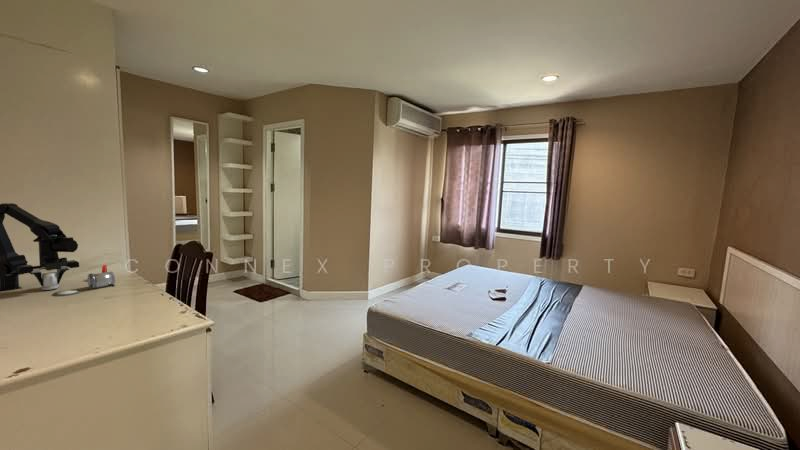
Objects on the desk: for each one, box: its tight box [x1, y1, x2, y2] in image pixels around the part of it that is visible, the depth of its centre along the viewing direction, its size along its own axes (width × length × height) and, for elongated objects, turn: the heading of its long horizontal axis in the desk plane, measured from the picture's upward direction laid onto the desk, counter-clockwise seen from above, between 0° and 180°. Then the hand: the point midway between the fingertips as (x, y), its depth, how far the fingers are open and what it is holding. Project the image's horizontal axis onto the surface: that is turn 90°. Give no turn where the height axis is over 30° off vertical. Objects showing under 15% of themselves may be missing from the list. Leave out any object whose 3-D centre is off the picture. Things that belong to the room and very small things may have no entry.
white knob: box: [40, 271, 60, 291], centre depth 146 cm, size 6×5×7 cm
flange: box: [52, 288, 83, 297], centre depth 143 cm, size 9×9×1 cm
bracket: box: [101, 264, 108, 273], centre depth 162 cm, size 12×4×8 cm, turn 36°
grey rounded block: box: [87, 271, 116, 290], centre depth 152 cm, size 8×8×7 cm
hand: (50, 285), depth 146 cm, fingers closed on white knob, 5 cm apart
